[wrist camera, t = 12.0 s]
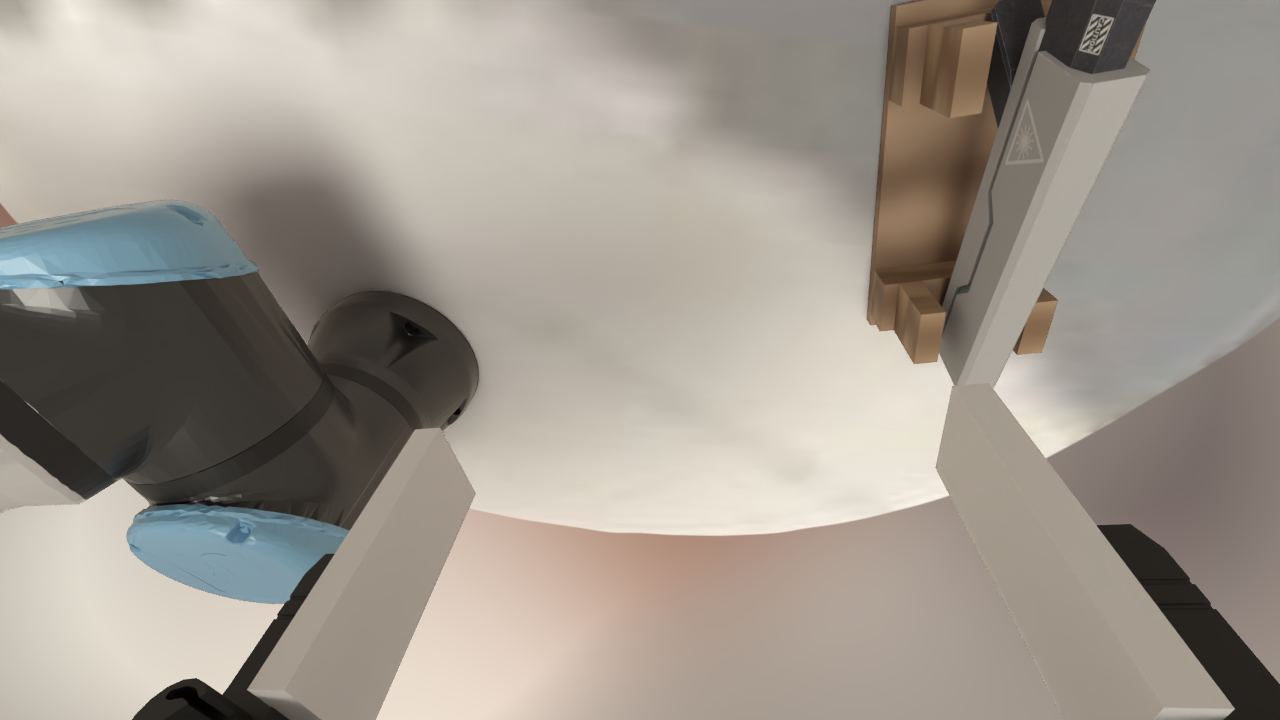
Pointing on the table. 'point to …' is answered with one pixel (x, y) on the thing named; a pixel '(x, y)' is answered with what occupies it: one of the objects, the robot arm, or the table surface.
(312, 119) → the table surface
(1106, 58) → the gun
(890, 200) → the display stand
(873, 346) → the table surface
